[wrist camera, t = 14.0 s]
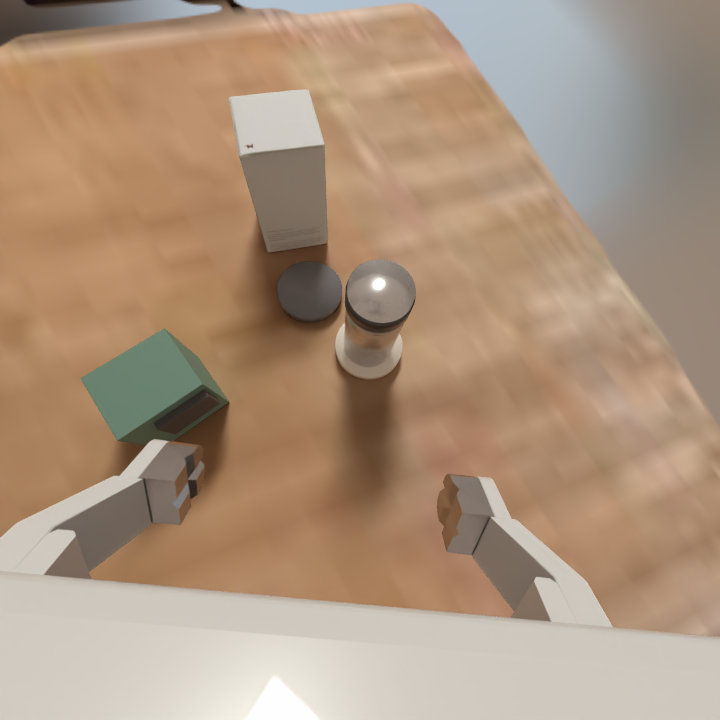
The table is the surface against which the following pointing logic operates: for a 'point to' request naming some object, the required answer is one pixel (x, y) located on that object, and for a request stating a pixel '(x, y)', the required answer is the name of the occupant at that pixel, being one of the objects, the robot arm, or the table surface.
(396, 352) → the cream dome cap
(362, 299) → the grey-lidded jar
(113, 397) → the block
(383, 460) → the table surface
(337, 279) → the disc
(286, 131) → the supplement box
